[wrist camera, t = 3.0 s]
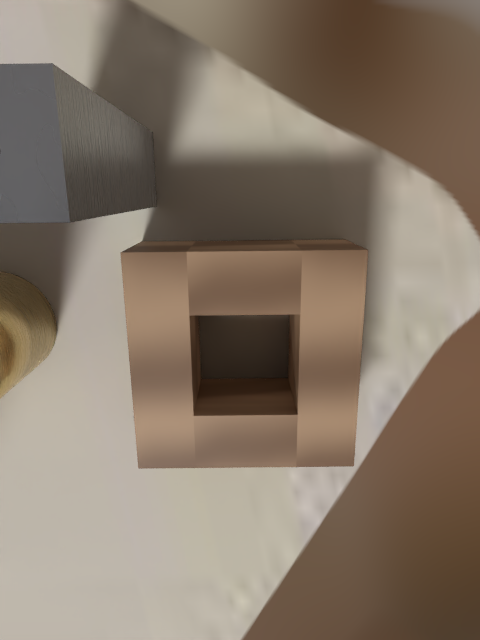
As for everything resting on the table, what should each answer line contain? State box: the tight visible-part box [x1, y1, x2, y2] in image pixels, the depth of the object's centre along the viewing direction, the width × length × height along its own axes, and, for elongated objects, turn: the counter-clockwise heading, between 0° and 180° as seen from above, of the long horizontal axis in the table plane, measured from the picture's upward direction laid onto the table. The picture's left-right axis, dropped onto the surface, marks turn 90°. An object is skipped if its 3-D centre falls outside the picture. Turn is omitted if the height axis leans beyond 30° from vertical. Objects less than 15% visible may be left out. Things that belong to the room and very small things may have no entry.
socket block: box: [121, 239, 368, 468], centre depth 26 cm, size 12×12×5 cm
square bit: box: [0, 63, 157, 223], centre depth 19 cm, size 4×4×14 cm
